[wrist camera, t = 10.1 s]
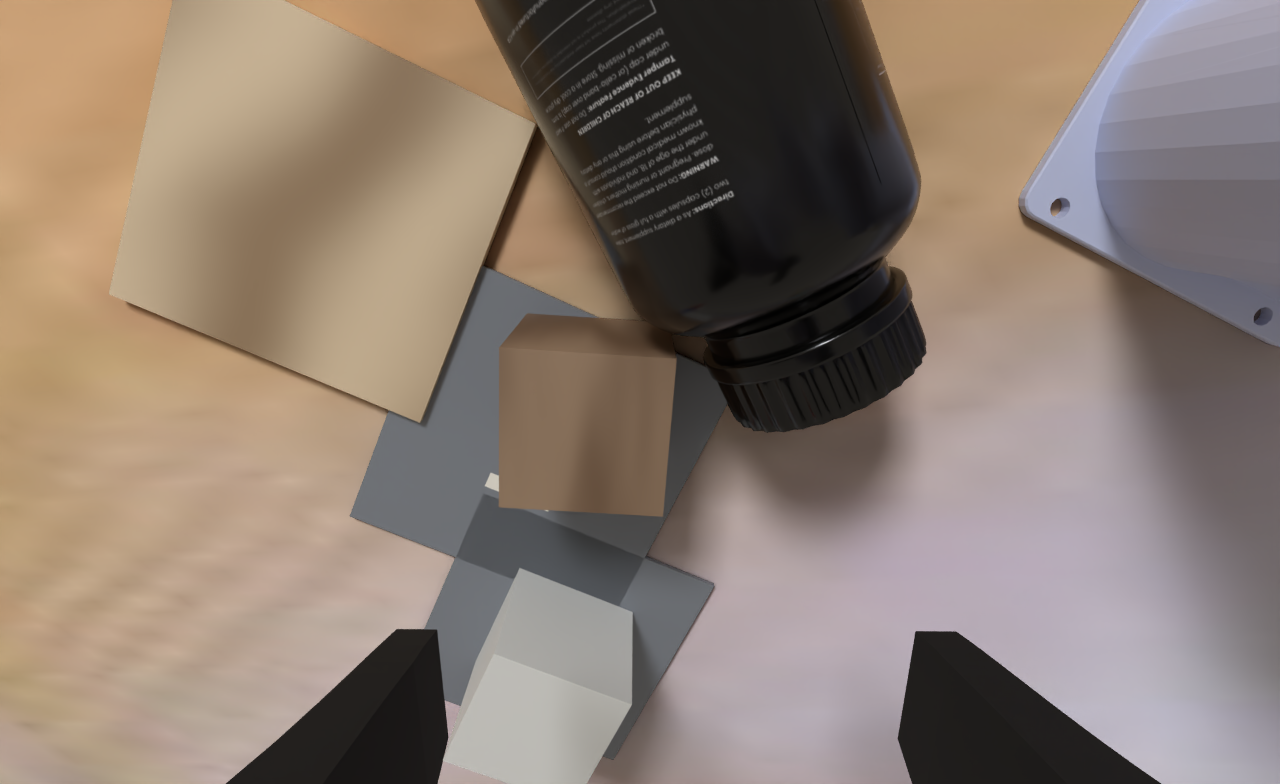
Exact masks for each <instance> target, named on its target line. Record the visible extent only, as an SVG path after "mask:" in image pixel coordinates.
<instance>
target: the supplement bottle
mask: <svg viewBox="0 0 1280 784" xmlns="http://www.w3.org/2000/svg"><path fill="white" fill-rule="evenodd" d="M475 2H476V4H477V6H478V8H479V10H480V12H481V14H482V16H483V18H484V20H485V22H486V24H487V26H488V28H489V30H490V32H491V34H492V36H493V38H494V40H495V42H496V44H497V46H498V48H499V50H500V52H501V54H502V56H503V58H504V59H505V61H506V63H507V65H508V67H509V69H510V71H511V73H512V75H513V77H514V79H515V81H516V83H517V85H518V87H519V89H520V91H521V93H522V95H523V97H524V99H525V101H526V102H527V104H528V106H529V108H530V110H531V112H532V114H533V116H534V118H535V120H536V122H537V124H538V126H539V128H540V130H541V132H542V134H543V136H544V138H545V140H546V142H547V143H548V145H549V147H550V149H551V151H552V153H553V155H554V157H555V159H556V161H557V163H558V165H559V167H560V169H561V171H562V173H563V175H564V177H565V179H566V181H567V183H568V184H569V186H570V188H571V190H572V192H573V194H574V196H575V198H576V200H577V202H578V204H579V206H580V208H581V210H582V212H583V214H584V216H585V218H586V220H587V222H588V224H589V226H590V227H591V229H592V231H593V233H594V235H595V237H596V239H597V241H598V243H599V245H600V247H601V249H602V251H603V253H604V255H605V257H606V259H607V261H608V263H609V265H610V267H611V268H612V270H613V272H614V274H615V276H616V278H617V280H618V282H619V284H620V286H621V288H622V290H623V292H624V294H625V295H626V296H627V298H628V300H629V302H630V304H631V305H632V307H633V309H634V310H635V311H636V312H637V313H638V315H639V316H641V317H642V318H643V319H644V320H645V321H647V322H648V323H650V324H651V325H653V326H655V327H657V328H658V329H660V330H663V331H665V332H668V333H672V334H676V335H682V336H692V337H704V338H705V340H706V342H707V344H708V347H707V348H706V350H705V352H704V356H703V359H704V362H705V364H706V367H707V369H708V371H709V373H710V375H711V377H712V378H713V379H714V380H715V381H717V383H718V385H719V387H720V389H721V391H722V393H723V395H724V397H725V399H726V402H727V404H728V406H729V408H730V410H731V412H732V414H733V416H734V417H735V419H736V420H737V421H738V422H740V423H741V424H742V425H743V426H744V427H747V428H752V430H753V431H764V432H767V433H768V432H775V431H779V432H786V431H790V430H794V429H805V428H808V427H810V426H813V425H820V424H824V423H827V422H829V421H831V420H833V419H837V418H841V417H845V416H847V415H848V414H850V413H852V412H854V411H857V410H860V409H863V408H865V407H867V406H868V405H870V404H871V403H873V402H874V401H877V400H879V399H881V398H883V397H885V396H886V395H887V394H888V393H889V392H890V391H892V390H894V389H895V388H897V387H899V386H901V385H902V383H903V382H904V381H905V380H906V379H907V378H908V377H910V376H911V375H913V374H914V372H915V369H916V368H917V367H918V366H919V365H921V364H922V358H923V356H924V355H925V354H926V347H925V346H926V340H925V336H924V333H923V330H922V327H921V325H920V322H919V319H918V317H917V314H916V311H915V309H914V306H913V303H912V301H911V299H912V290H911V287H910V285H909V282H908V280H907V277H906V275H905V273H904V272H903V271H902V270H900V269H898V268H895V267H889V266H888V264H887V261H886V258H885V257H886V256H887V254H888V253H889V252H890V251H891V250H892V249H893V247H894V246H895V245H896V244H897V242H898V241H899V240H900V239H901V237H902V236H903V235H904V233H905V232H906V230H907V229H908V227H909V225H910V223H911V221H912V219H913V217H914V215H915V212H916V209H917V206H918V201H919V196H920V190H921V175H920V172H919V168H918V164H917V161H916V158H915V155H914V151H913V148H912V145H911V142H910V139H909V136H908V133H907V130H906V127H905V124H904V121H903V118H902V115H901V113H900V110H899V107H898V104H897V101H896V98H895V95H894V92H893V89H892V86H891V84H890V81H889V78H888V75H887V72H886V69H885V66H884V63H883V60H882V58H881V55H880V52H879V49H878V46H877V43H876V40H875V37H874V34H873V32H872V29H871V26H870V23H869V20H868V17H867V14H866V11H865V8H864V5H863V3H862V0H475Z"/></svg>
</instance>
